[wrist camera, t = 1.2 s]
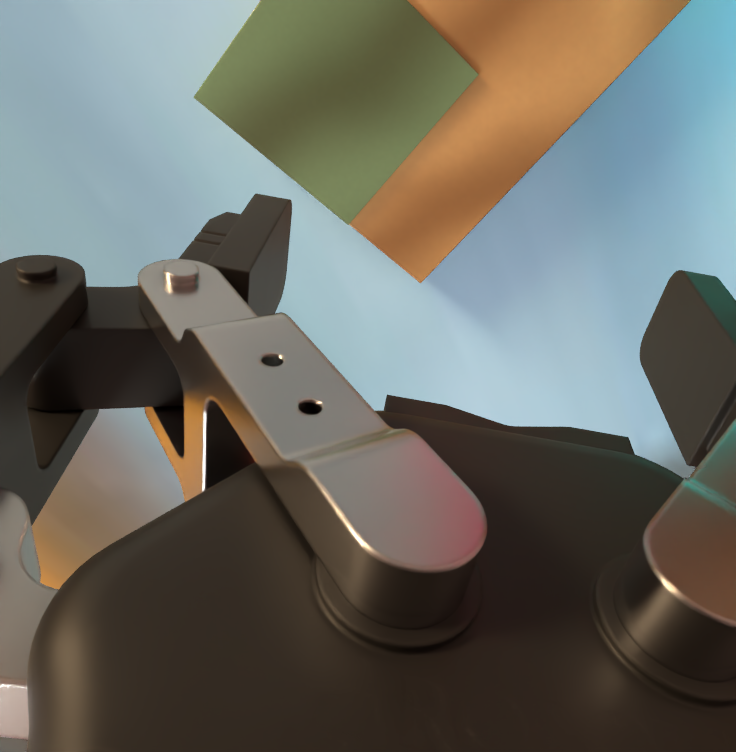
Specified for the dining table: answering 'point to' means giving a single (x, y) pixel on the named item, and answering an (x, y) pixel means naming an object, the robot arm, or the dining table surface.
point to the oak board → (420, 101)
